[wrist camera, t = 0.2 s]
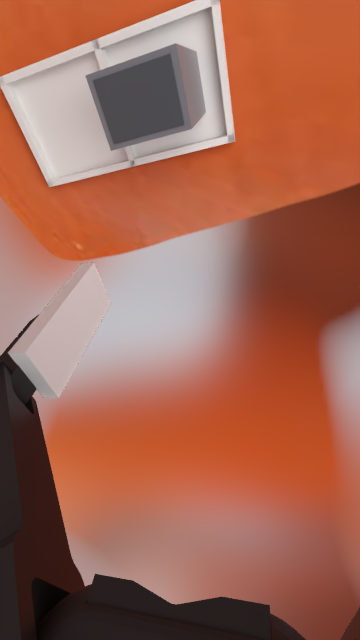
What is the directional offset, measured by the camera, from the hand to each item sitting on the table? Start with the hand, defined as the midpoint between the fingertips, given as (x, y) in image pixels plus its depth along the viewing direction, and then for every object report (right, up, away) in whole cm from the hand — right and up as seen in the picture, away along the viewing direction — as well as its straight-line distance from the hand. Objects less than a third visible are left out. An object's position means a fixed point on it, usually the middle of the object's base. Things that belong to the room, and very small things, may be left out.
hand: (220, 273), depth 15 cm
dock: (-9, +22, +19) cm, 30 cm away
